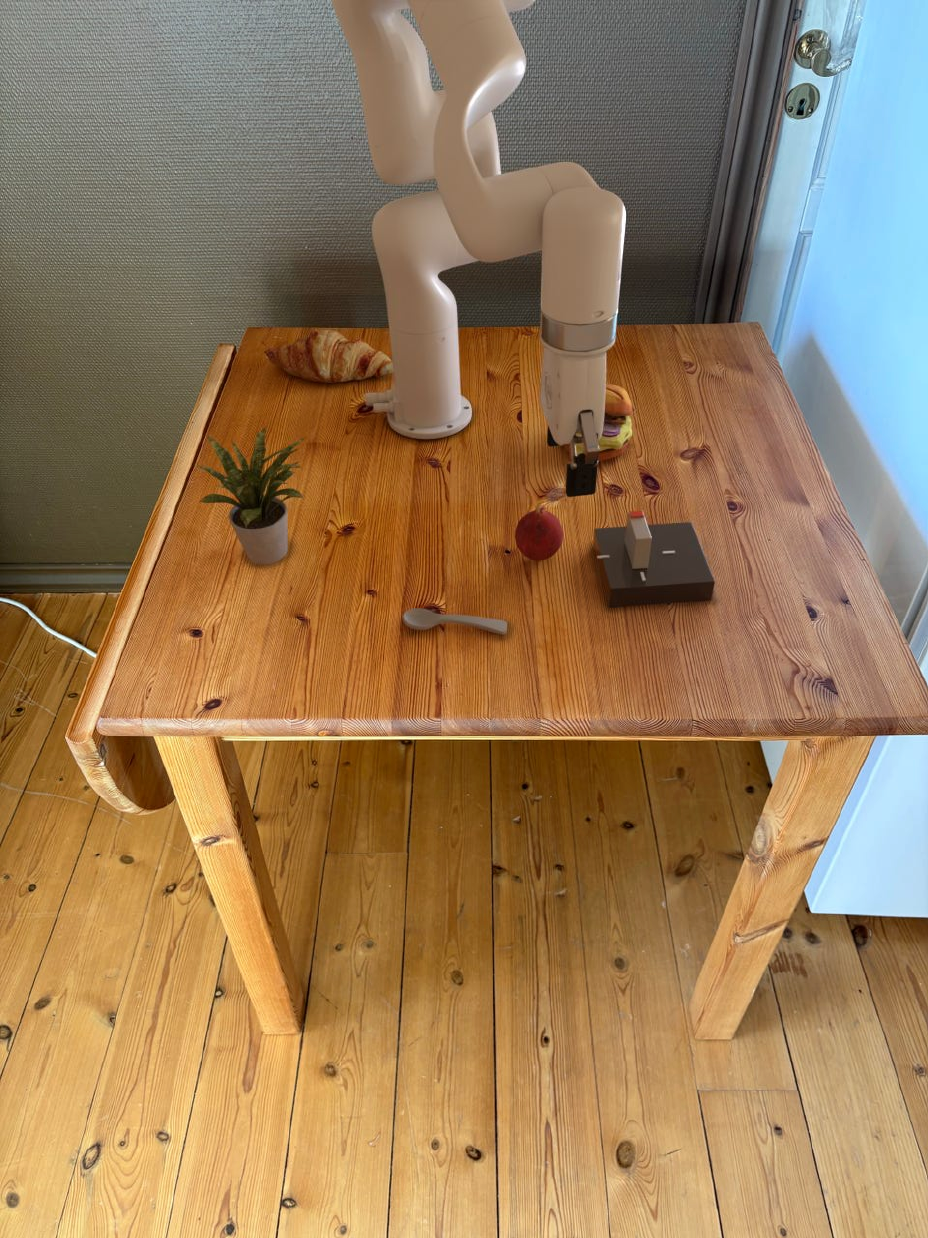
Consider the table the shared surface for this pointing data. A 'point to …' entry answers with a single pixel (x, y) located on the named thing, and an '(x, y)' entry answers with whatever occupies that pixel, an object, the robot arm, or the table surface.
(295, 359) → the croissant
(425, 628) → the spoon
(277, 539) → the house plant
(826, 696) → the table surface
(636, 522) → the knob
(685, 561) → the dial base
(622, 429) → the cheeseburger
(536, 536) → the onion
